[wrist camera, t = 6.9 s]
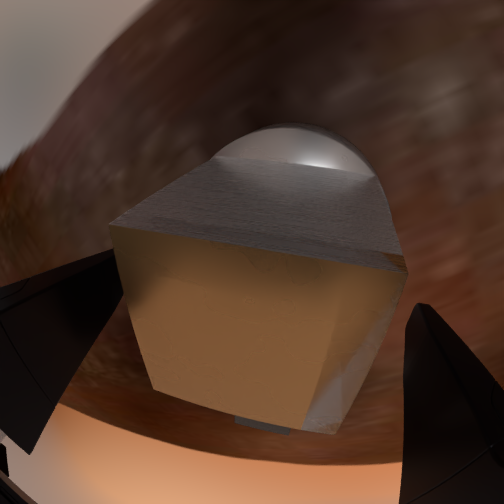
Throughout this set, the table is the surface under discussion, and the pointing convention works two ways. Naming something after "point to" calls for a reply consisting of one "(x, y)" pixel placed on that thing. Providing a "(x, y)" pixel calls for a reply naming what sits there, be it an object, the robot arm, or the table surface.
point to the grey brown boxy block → (262, 287)
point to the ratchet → (299, 152)
